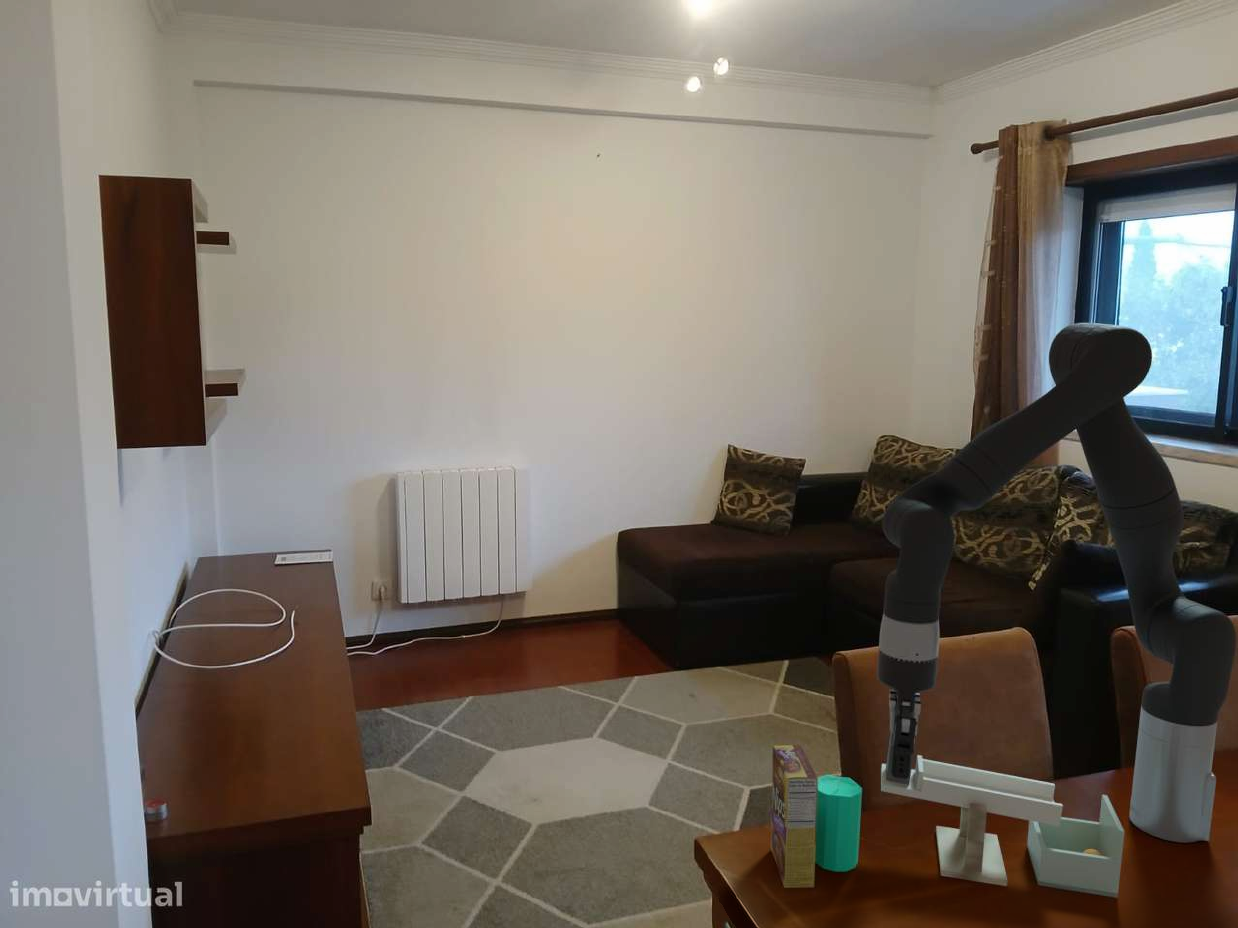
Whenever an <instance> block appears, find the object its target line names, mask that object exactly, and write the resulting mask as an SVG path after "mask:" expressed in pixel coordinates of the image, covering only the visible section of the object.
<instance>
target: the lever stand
mask: <svg viewBox="0 0 1238 928" xmlns="http://www.w3.org/2000/svg"><path fill="white" fill-rule="evenodd" d="M987 813H988V812H987V808H986V805H981V804H974V803H969V808H964V807H960V818H959V819H960V820H959V828H953V827H947V826H940V825H935V826H936V827H935V833H936V835H935V837H936V844H937V845H936V846H937V853H938V860H939V862H938V863H939V869H940V876H942V877H949V878H952V879H953V878H955V879H961V880H967V881H972V882H978V883H984V884H989V885H990V884H991V885H998V886H1002V887H1007V886H1008V877H1007V873H1006V869H1005V865H1004V859H1003V854H1002V852H1001V851H1002V849H1001V847H1000V842H999V839H998V835H997V834H995V833H994V834H993V833H988V832H986V824H987Z"/></svg>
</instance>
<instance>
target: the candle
mask: <svg viewBox="0 0 1238 928" xmlns="http://www.w3.org/2000/svg"><path fill="white" fill-rule="evenodd" d="M862 795H863V787H861V786H860V785H859V784H858V783H857V782H855V781H854V780H853V779H851V778H850V777H843V776H841V774H838V776H834V775H829V774H825V775H823V776H822V777H820V778H819V777H818V790H817V821H816V850H815V864H817V865H818V866H819V867H821V868H823V869H824V870H828V871H832V872H848V871H851V870H853V869H855V868H856V867H857V864H858V862H859V847H860V831H861V816H862V815H861V814H862V813H861V812H862V797H863V796H862Z"/></svg>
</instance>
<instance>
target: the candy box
mask: <svg viewBox="0 0 1238 928" xmlns="http://www.w3.org/2000/svg"><path fill="white" fill-rule="evenodd" d="M771 767H772V775H771V776H772V777H771V819H770V822H771V825H770V826H771V827H770V833H771V834H770V836H771V837H770V850H771V853H772V855H773V858H774V861H775V863H776V867H777V869H778V874H779V875H780V878H781V882H782V885H783V888H784V889H806V888H807V889H812V888H814V887H815V876H816V875H815V874H816V873H815V869H816V863H815V850H816V821H817V790H818V779H819V777H818V775H817V773H816V772H815V770H814V769H813V766H812V764H811V762H810V761H809V759H808V757H807V755H806V753H805V750H804V748H803V747H802V745H801V744H798V745H796V744H795V745H794V744H792V745H788V744H787V745H773V746H772V766H771Z"/></svg>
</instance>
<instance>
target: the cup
mask: <svg viewBox="0 0 1238 928" xmlns="http://www.w3.org/2000/svg"><path fill="white" fill-rule="evenodd" d="M1100 802H1101V804H1100V812H1099V821H1098V822H1097V821H1093V820H1086V819H1078V818H1073V817H1072V818H1071V817H1065V816H1061V820H1060V826H1055V825H1050V824H1045V823H1040V822H1035V821H1030V820H1028V834H1027V841H1026V843H1027V844H1026V847H1027V850H1028V855H1029V858H1030V861H1031V866H1032V868H1033V872H1034V875H1035V878H1036V882H1037V886H1042V887H1048V888H1053V889H1060V890H1066V891H1072V892H1079V893H1086V894H1091V895H1092V894H1093V895H1098V896H1104V897H1110V898H1114V899H1118V897H1119V895H1118V894H1119V887H1120V878H1121V869H1122V867H1121V866H1122V861H1123V860H1122V858H1123V851H1124V849H1123V848H1124V841H1125V830H1124V828H1123V826H1122V824H1121V821H1120V819H1119V817H1118V815H1117V813H1116V810H1115V809H1114V807H1113V805H1112V802H1111V801H1110V798H1109V796H1108V795H1107V794H1101V801H1100ZM1087 849H1095V850H1097V851H1099V852H1100V853H1101V854H1102V855H1103V856H1099V855H1093V854H1086V853H1083V852H1084V851H1085V850H1087Z"/></svg>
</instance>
